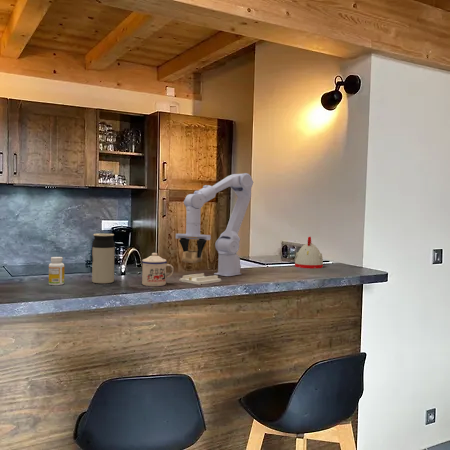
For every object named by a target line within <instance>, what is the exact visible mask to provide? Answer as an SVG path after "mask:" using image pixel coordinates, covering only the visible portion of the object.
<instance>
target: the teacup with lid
mask: <svg viewBox="0 0 450 450" xmlns="http://www.w3.org/2000/svg"><path fill="white" fill-rule="evenodd" d="M141 263H142V273H141V275H142V277H141V281H142V282H141V284H142V285H143V286H145V287H163V286H165V285H166V284H167V278H170V277H171V276H172V275H173V273H174V266H173V265H172V264H169V263H168V262H167V259H165V258H162V257H161V256H160V255H158V253H157V252H152V253H151V255H150V256H148V257H146V258H143V259H142V260H141ZM167 267H169V268H170V272H169V274H167Z"/></svg>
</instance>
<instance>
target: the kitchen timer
mask: <svg viewBox="0 0 450 450" xmlns="http://www.w3.org/2000/svg"><path fill="white" fill-rule="evenodd" d="M294 261H295V262H294V267H296V268H301V269H322V267H324V262H323V253H321V252H320V250H319V248H318V247H317V246H316V245H315V244H314V243H312V237H311V236H308V237H307V243H305V244H303V245H302V246H301V248H299V250H298V252H296V253H295V259H294Z"/></svg>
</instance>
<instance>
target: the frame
mask: <svg viewBox="0 0 450 450" xmlns="http://www.w3.org/2000/svg"><path fill="white" fill-rule="evenodd" d="M197 252H198V250H194V249H192V250H191V249H190V250H188V251H186V252H182V259H181V262H182V263H188V264H189V263H190V264H195V263H200V262H203V261H202V260H203V253H202V254H201V257H200V258H197Z"/></svg>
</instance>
